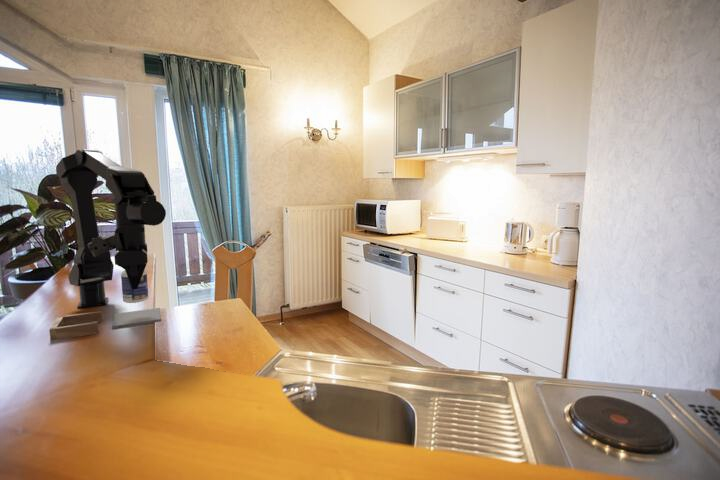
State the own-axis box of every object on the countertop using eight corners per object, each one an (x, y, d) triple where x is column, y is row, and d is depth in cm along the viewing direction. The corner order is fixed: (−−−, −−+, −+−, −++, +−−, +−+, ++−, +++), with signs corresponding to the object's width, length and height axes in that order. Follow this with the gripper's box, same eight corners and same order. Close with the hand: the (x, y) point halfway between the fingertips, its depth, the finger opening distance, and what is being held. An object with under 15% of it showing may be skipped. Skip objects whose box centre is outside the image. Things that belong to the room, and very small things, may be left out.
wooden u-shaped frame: (59, 326, 85) (58, 316, 85) (102, 320, 89) (101, 311, 89) (50, 340, 77) (49, 329, 77) (97, 333, 81) (96, 322, 81)
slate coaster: (115, 316, 92) (115, 313, 92) (160, 309, 97) (159, 307, 97) (112, 328, 84) (111, 326, 84) (161, 321, 89) (161, 318, 89)
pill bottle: (136, 304, 87) (133, 264, 86) (117, 302, 88) (114, 263, 87) (153, 297, 92) (151, 260, 91) (135, 296, 93) (132, 259, 92)
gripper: (93, 221, 92) (99, 281, 94) (82, 228, 76) (89, 301, 78) (145, 220, 97) (149, 277, 99) (145, 226, 81) (149, 294, 83)
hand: (135, 286), depth 90 cm, fingers closed on pill bottle, 5 cm apart
